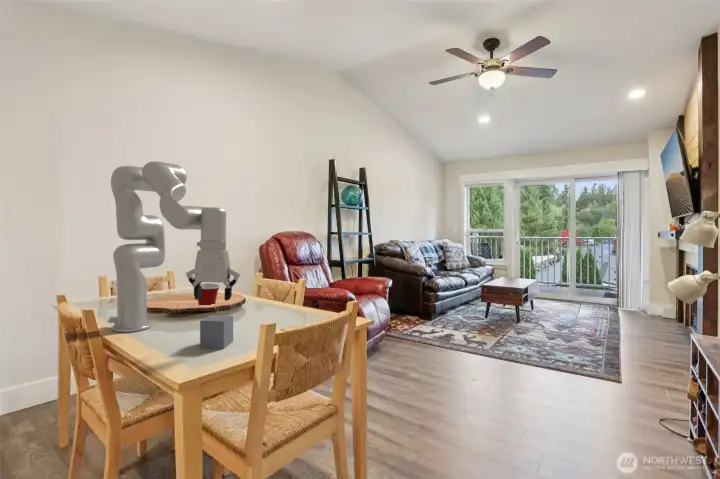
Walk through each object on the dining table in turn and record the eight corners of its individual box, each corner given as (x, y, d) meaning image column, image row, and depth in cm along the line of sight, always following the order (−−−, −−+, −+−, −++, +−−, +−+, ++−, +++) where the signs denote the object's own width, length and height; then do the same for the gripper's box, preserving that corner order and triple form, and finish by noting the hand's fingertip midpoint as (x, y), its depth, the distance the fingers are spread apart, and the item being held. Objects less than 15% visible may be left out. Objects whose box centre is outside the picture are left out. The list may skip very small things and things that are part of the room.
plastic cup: (211, 314, 166) (211, 287, 165) (189, 313, 168) (189, 286, 167) (225, 309, 176) (225, 283, 176) (204, 307, 179) (203, 282, 178)
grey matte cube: (200, 348, 121) (200, 320, 121) (210, 340, 129) (210, 314, 129) (223, 348, 121) (223, 321, 121) (233, 341, 129) (233, 315, 128)
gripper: (180, 246, 118) (180, 300, 119) (235, 247, 118) (234, 302, 118) (192, 244, 126) (192, 296, 127) (244, 246, 125) (243, 298, 126)
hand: (212, 299), depth 123 cm, fingers open, 9 cm apart
